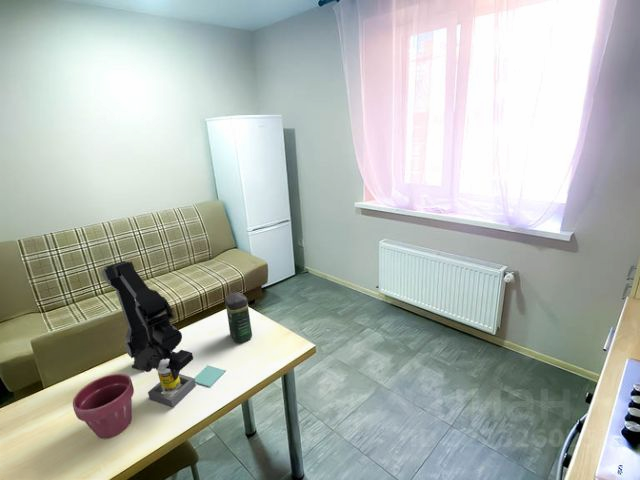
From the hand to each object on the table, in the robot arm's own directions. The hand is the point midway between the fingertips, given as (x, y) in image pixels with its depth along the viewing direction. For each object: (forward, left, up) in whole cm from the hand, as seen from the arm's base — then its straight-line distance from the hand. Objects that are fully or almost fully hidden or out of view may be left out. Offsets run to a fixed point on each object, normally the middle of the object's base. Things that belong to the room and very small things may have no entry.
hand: (169, 376), depth 107 cm
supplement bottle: (0, 0, -4) cm, 4 cm away
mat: (+6, +10, -6) cm, 13 cm away
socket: (0, 0, -6) cm, 6 cm away
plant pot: (-7, -16, -7) cm, 18 cm away
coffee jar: (+3, +33, -7) cm, 34 cm away
